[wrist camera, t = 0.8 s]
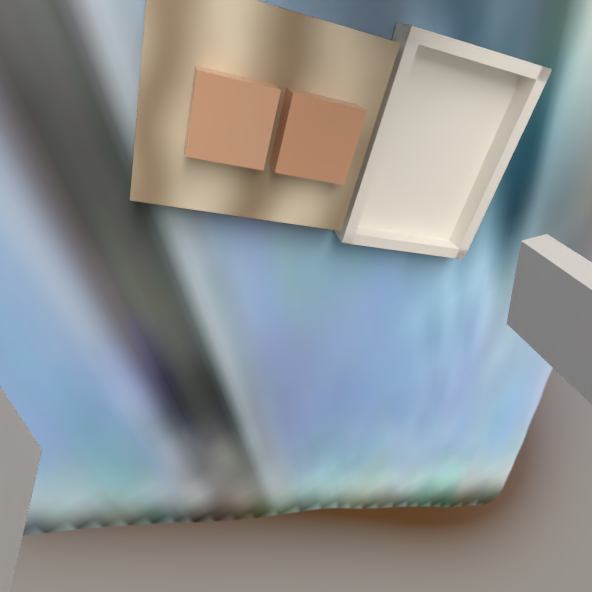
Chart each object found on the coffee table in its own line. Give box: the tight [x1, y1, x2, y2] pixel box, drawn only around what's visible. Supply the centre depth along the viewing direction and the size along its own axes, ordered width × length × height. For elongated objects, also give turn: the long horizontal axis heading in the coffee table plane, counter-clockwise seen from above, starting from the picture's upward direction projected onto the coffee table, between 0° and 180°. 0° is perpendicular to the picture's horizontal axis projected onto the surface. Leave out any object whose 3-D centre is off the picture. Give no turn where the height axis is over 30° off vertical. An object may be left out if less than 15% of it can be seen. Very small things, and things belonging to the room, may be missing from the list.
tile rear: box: [269, 87, 367, 185], centre depth 29 cm, size 4×4×2 cm
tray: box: [333, 23, 552, 259], centre depth 34 cm, size 10×14×2 cm
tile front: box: [184, 65, 281, 171], centre depth 27 cm, size 4×4×2 cm
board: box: [130, 0, 400, 231], centre depth 29 cm, size 14×12×2 cm
